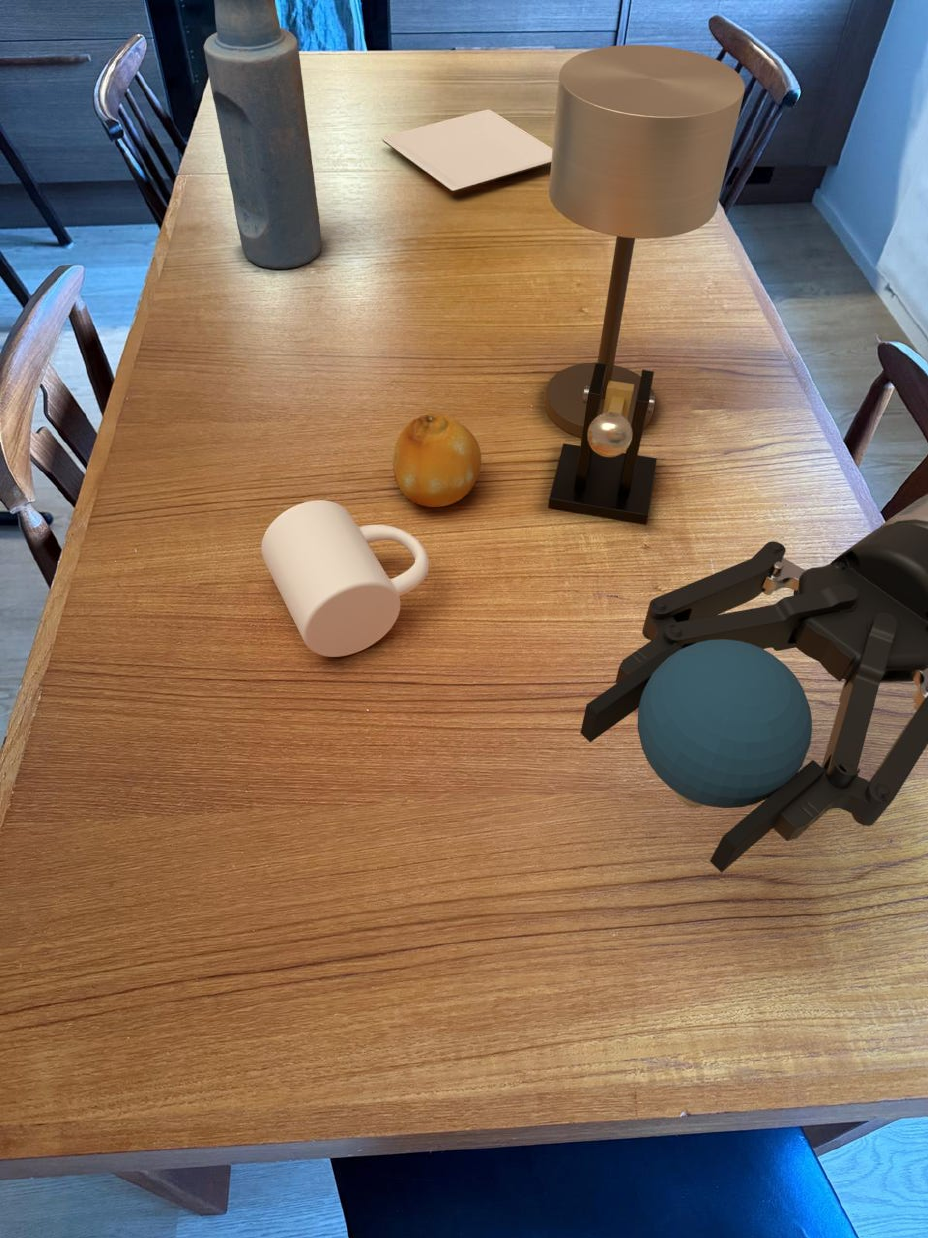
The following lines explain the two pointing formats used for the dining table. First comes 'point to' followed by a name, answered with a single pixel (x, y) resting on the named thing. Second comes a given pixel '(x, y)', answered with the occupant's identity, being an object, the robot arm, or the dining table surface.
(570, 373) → the lamp
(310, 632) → the mug
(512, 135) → the plate
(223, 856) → the dining table surface
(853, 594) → the robot arm
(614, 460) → the switch bracket
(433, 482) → the fruit
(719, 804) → the dark teal ovoid
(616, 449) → the lamp switch
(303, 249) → the bottle
